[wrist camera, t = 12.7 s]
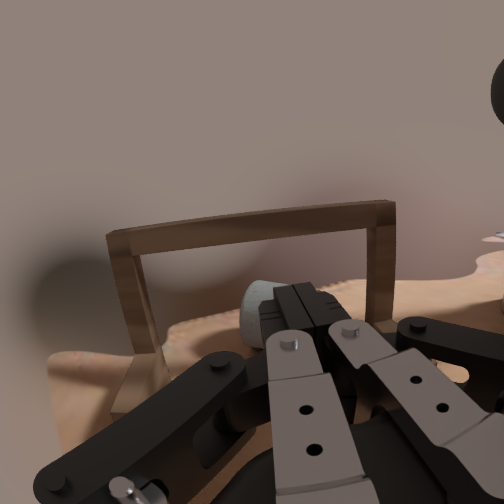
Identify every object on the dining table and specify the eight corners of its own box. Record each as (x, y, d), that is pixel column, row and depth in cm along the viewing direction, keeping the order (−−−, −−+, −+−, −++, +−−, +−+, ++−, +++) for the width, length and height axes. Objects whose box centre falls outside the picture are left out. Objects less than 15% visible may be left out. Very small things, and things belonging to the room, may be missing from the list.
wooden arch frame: (153, 383, 28) (114, 230, 24) (378, 351, 29) (384, 199, 25) (133, 454, 18) (55, 261, 14) (424, 408, 20) (456, 214, 16)
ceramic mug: (315, 369, 28) (314, 300, 27) (241, 359, 32) (233, 294, 30) (333, 322, 38) (333, 265, 36) (274, 317, 41) (270, 264, 39)
